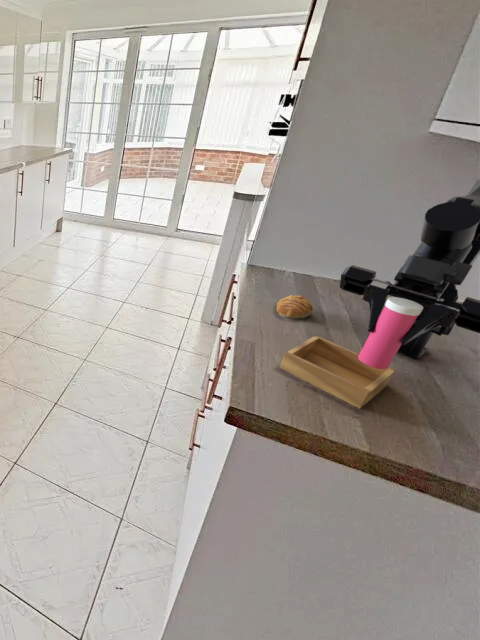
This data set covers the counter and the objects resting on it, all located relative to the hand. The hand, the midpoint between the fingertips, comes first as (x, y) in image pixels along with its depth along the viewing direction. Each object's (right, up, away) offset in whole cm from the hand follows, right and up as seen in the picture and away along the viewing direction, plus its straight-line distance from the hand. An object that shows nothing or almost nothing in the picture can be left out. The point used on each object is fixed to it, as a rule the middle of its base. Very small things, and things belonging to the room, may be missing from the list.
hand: (385, 337), depth 69 cm
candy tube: (+1, -5, +3) cm, 6 cm away
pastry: (+9, +1, +32) cm, 33 cm away
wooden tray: (-1, -10, +9) cm, 13 cm away
